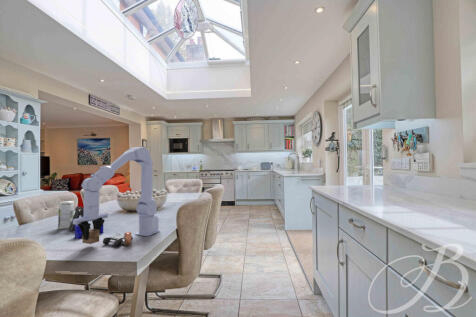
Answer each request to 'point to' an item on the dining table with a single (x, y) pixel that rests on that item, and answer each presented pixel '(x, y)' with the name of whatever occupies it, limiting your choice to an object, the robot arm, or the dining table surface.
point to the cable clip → (79, 234)
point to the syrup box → (65, 214)
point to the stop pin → (127, 239)
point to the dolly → (117, 240)
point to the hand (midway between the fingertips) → (91, 237)
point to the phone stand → (76, 215)
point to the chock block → (92, 236)
